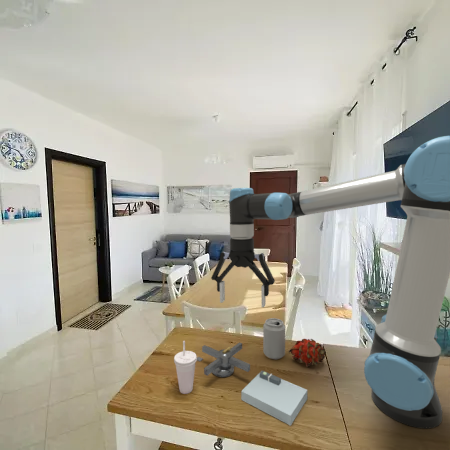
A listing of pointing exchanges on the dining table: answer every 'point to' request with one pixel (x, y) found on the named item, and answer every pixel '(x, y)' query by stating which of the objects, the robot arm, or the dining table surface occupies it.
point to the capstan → (224, 361)
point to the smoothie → (185, 369)
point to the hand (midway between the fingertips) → (242, 303)
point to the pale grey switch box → (275, 396)
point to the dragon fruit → (308, 352)
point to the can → (274, 338)
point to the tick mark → (199, 359)
